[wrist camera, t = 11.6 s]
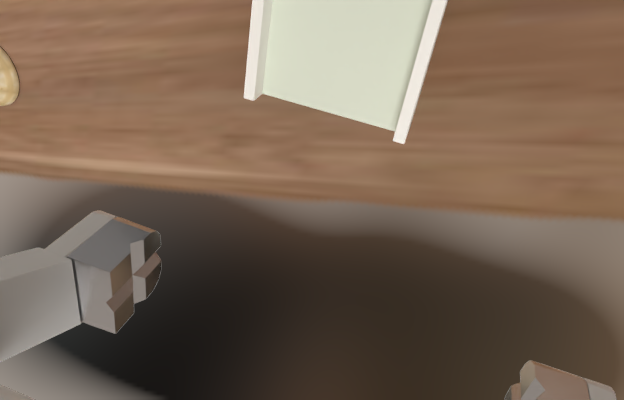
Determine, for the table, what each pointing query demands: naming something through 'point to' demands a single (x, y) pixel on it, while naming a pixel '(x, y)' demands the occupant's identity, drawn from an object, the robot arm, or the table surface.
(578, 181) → the table surface
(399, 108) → the tray
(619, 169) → the table surface
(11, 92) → the hand bell
